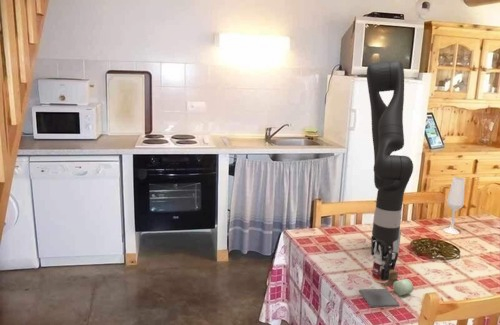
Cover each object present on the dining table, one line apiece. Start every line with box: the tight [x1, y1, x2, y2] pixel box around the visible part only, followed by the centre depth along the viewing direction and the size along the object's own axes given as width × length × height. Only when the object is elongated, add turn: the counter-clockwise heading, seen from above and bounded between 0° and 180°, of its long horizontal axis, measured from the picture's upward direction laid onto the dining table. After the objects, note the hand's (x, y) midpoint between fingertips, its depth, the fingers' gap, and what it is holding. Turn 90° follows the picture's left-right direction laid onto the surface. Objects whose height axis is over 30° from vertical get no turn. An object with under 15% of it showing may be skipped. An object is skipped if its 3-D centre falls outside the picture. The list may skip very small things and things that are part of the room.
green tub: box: [392, 278, 414, 297], centre depth 132 cm, size 4×4×4 cm
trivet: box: [358, 288, 400, 308], centre depth 129 cm, size 9×9×1 cm
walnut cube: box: [381, 268, 399, 287], centre depth 139 cm, size 4×4×4 cm
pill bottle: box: [371, 252, 388, 284], centre depth 127 cm, size 5×5×8 cm
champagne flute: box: [442, 176, 466, 235], centre depth 184 cm, size 7×7×24 cm
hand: (380, 275), depth 127 cm, fingers closed on pill bottle, 4 cm apart
